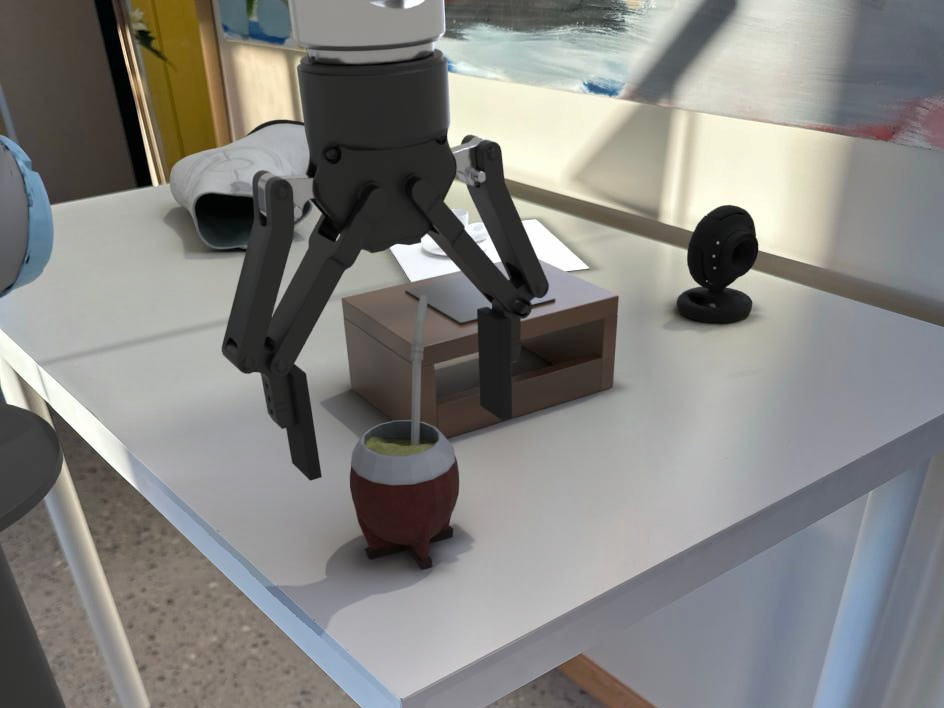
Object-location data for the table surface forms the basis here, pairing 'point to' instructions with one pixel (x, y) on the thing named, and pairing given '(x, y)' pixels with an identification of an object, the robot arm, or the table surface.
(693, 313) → the webcam
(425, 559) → the mate gourd
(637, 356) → the table surface
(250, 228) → the cowboy boot
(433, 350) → the shelf
